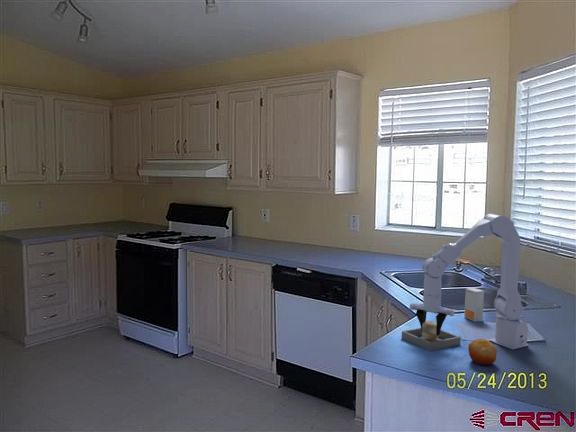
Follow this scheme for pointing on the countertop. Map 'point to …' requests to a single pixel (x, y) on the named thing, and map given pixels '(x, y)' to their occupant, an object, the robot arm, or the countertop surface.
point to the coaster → (431, 340)
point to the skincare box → (474, 304)
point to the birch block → (429, 330)
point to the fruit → (482, 352)
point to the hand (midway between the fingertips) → (430, 333)
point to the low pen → (447, 342)
